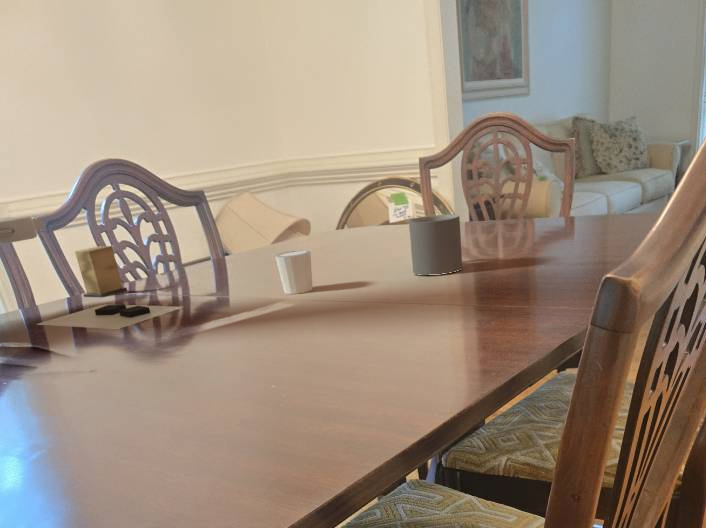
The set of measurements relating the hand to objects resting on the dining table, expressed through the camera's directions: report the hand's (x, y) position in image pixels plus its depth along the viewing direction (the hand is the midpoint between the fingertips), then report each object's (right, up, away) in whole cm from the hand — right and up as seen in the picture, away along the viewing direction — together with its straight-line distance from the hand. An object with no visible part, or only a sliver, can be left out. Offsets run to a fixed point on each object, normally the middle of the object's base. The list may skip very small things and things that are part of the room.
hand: (24, 224), depth 146 cm
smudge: (+17, -17, -2) cm, 25 cm away
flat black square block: (+23, -19, -6) cm, 30 cm away
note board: (+18, -20, -4) cm, 27 cm away
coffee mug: (+79, -5, +11) cm, 80 cm away
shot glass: (+51, -11, +5) cm, 53 cm away
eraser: (+8, -8, +18) cm, 22 cm away
